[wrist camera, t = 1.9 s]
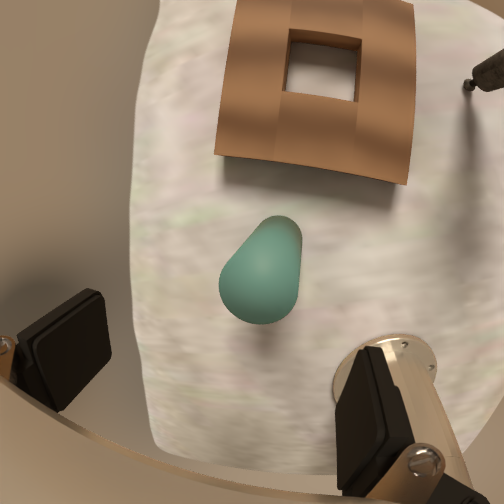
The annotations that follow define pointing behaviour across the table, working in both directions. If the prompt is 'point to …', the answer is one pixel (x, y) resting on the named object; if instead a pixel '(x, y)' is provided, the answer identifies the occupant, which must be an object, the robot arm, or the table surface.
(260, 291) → the peg
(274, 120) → the socket board
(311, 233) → the table surface
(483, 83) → the microphone
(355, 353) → the robot arm
